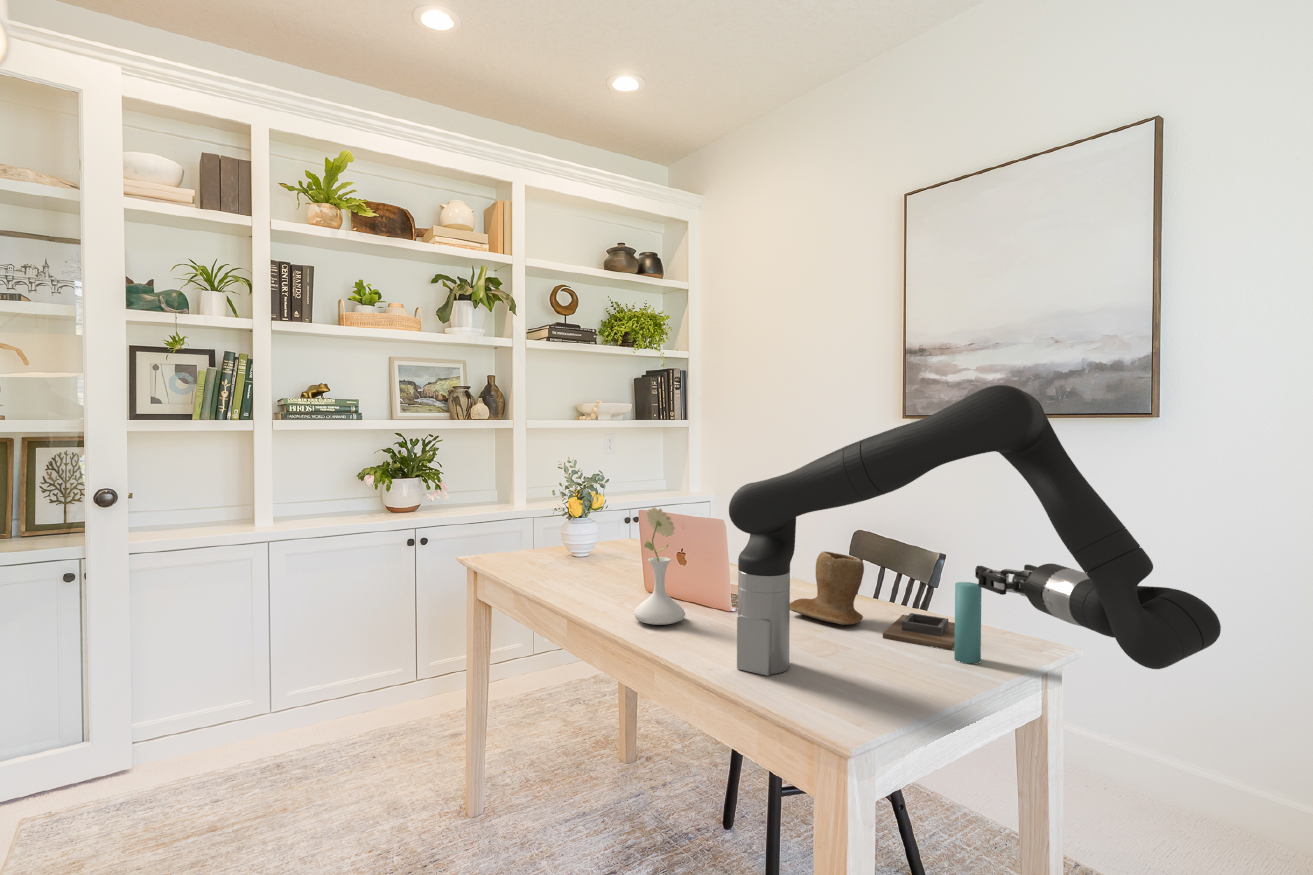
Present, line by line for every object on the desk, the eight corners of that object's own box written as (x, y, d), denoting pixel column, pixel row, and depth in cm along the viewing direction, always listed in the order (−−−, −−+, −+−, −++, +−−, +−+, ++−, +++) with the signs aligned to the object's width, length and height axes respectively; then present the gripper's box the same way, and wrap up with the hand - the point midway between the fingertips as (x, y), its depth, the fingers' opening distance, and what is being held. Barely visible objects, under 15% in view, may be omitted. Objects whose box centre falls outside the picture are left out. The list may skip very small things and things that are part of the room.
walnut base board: (951, 650, 128) (951, 635, 128) (882, 637, 136) (882, 624, 135) (965, 629, 142) (965, 616, 141) (902, 618, 149) (902, 606, 149)
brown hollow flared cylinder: (875, 621, 147) (875, 554, 147) (843, 632, 139) (844, 561, 139) (817, 607, 159) (818, 544, 158) (786, 616, 151) (786, 550, 151)
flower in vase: (693, 625, 143) (694, 510, 143) (644, 631, 139) (644, 512, 139) (670, 610, 155) (670, 503, 155) (624, 615, 151) (624, 505, 151)
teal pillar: (978, 665, 120) (979, 588, 120) (952, 661, 122) (953, 585, 122) (982, 658, 124) (983, 583, 123) (956, 654, 126) (957, 580, 126)
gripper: (1115, 568, 97) (1041, 548, 113) (1023, 570, 96) (961, 549, 112) (1115, 619, 97) (1041, 591, 113) (1022, 622, 96) (961, 594, 112)
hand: (1002, 571), depth 113 cm, fingers open, 8 cm apart
